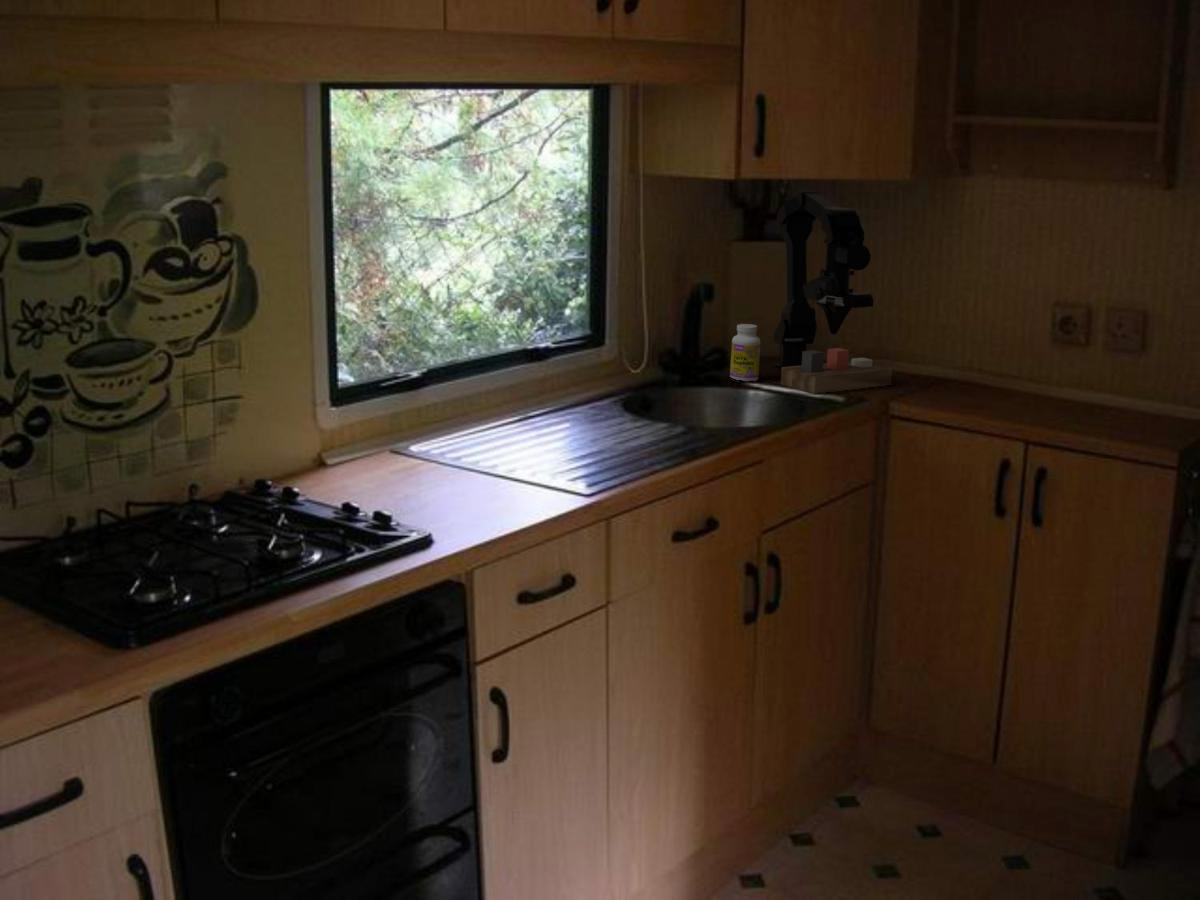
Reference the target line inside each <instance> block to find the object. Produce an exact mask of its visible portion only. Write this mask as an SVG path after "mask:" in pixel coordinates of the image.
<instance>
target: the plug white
mask: <svg viewBox="0 0 1200 900" xmlns="http://www.w3.org/2000/svg"><path fill="white" fill-rule="evenodd" d="M851 360H852V363H851V365H852V366H856V367H860V368H864V367H872V364H873V359H870V358H867V357H866V358H865V357H856V358H853V357H852V358H851Z"/></svg>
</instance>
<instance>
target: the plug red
mask: <svg viewBox="0 0 1200 900" xmlns="http://www.w3.org/2000/svg"><path fill="white" fill-rule="evenodd" d="M849 355H850V350H849V349H844V348H842V347H841V348H840V347H835V348H828V349H827V355H826V356H827V357H826V363H827V368H829V369H833V370H844V369H848V361H849V357H850V356H849Z"/></svg>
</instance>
